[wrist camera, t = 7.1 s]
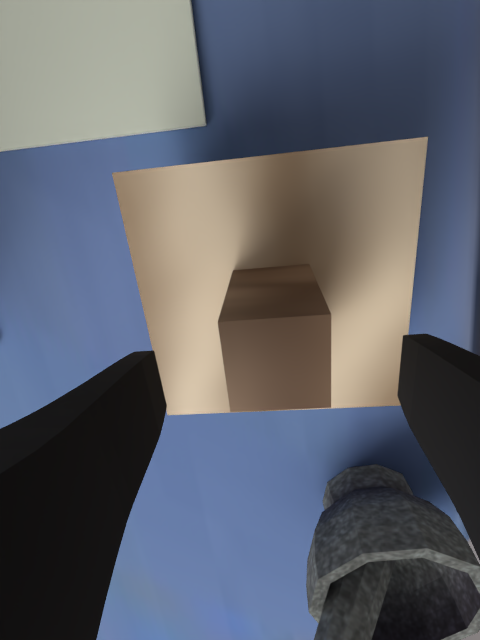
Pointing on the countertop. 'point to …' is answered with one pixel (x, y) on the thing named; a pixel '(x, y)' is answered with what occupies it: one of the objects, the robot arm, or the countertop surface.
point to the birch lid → (278, 275)
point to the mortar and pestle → (389, 564)
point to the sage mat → (96, 70)
